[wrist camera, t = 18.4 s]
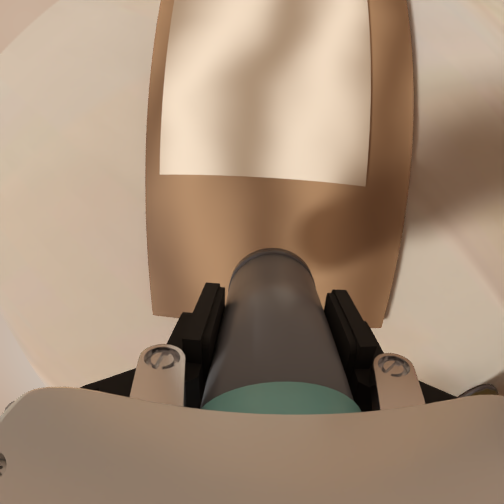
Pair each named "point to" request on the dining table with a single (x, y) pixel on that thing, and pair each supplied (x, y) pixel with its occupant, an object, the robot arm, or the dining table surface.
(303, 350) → the marker
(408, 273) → the dining table surface
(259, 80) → the writing board
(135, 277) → the dining table surface
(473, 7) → the dining table surface
